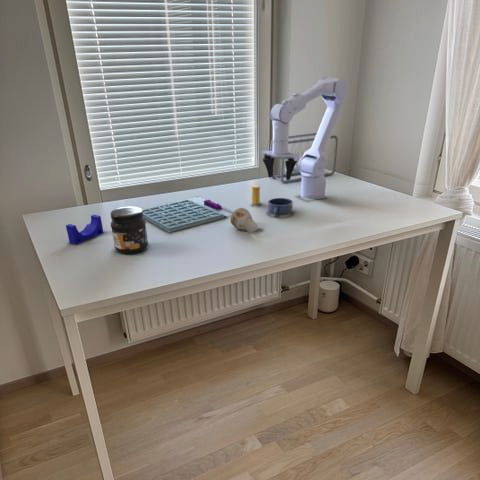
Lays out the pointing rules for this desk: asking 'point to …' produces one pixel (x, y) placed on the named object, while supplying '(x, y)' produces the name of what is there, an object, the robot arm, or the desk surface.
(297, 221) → the desk surface
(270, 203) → the cup
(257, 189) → the peg
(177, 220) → the calendar
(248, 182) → the desk surface
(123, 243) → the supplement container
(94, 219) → the cable clip
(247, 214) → the rock
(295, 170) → the newton's cradle
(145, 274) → the desk surface
